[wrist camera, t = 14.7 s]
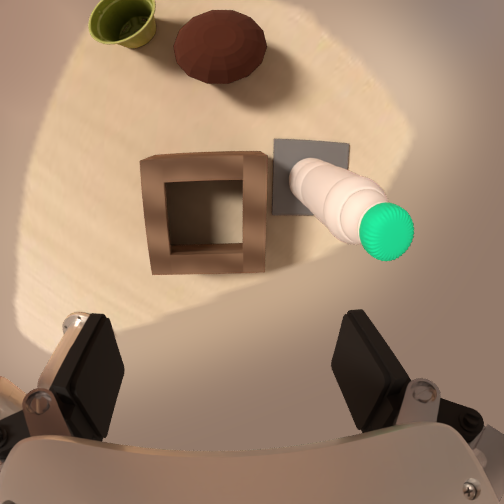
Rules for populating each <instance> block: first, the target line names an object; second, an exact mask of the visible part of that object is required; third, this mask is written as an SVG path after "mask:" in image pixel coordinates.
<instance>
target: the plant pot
mask: <svg viewBox="0 0 504 504" xmlns="http://www.w3.org/2000/svg"><path fill="white" fill-rule="evenodd" d="M155 7H156V4H155V0H101V1H100V2H99V3H98V4H97V5H96V7H95V8H94V10H93V11H92V13H91V15H90V19H89V24H88V27H89V32H90V35H91V36H92V38H93V39H94V40H96V41H98V42H100V43H102V44H119V45H122V46H124V47H127V48H138V47H140V46H143V45H145V44H147V43H148V42H149V41H150V40H151V39H152V38H153V36H154V34H155V32H156V23H155V19H154V13H155ZM141 19H147V20H148V21H147V22H146V21H143V20H141ZM127 25H128V27H127V28H126V29H125V31H124V32H123V30H124V28H125V27H126V26H127ZM136 30H138V32H136V33H135V31H136Z"/></svg>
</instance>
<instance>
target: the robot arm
mask: <svg viewBox="0 0 504 504" xmlns="http://www.w3.org/2000/svg"><path fill="white" fill-rule="evenodd" d="M63 333H64V336H63V337H62V339H61V341H60V342H59V344H58V346H57V347H56V349H55V351H54V352H53V354H52V356H51V358H50V359H49V361H48V363H47V365H46V367H45V368H44V370H43V372H42V373H41V376H40V378H39V380H38V386H37V387H38V388H37V389H33V390H32V391H30V392H29V393H28V394H26V393H25V392H23V391H22V390H21V389H20V388H18V387H17V386H16V385H14V384H13V383H12V382H11V381H9V380H8V379H6V378H4V377H2V376H0V504H499V502H500V500H501V498H502V496H503V494H504V434H502V433H501V432H499V431H498V430H496V429H495V428H493V427H492V426H490V425H488V424H487V426H484V422H483V418H482V416H481V415H480V414H479V413H478V412H477V411H476V410H474V409H472V408H468V407H466V406H463V405H459V404H457V403H453V402H451V401H448V400H445V399H442V398H440V390H439V388H438V387H437V385H436V384H435V383H433V382H432V381H430V380H428V379H423V378H418V379H414V380H412V381H411V379H410V378H409V376H408V374H407V373H406V371H405V370H404V368H403V367H402V365H401V364H400V362H399V361H398V359H397V358H396V356H395V355H394V353H393V352H392V350H391V349H390V347H389V346H388V345H387V343H386V342H385V340H384V339H383V337H382V336H381V334H380V333H379V332H378V330H377V329H376V327H375V326H374V324H373V323H372V322H371V320H370V319H369V317H368V316H367V315H366V313H365V312H364V311H363V310H362V309H360V310H350V311H348V312H347V314H345V315H344V316H343V320H342V324H341V328H340V332H339V336H338V340H337V344H336V347H335V351H334V354H333V358H332V362H331V367H332V370H333V373H334V375H335V377H336V380H337V382H338V384H339V387H340V389H341V391H342V394H343V396H344V398H345V401H346V403H347V406H348V408H349V410H350V412H351V415H352V418H353V420H354V422H355V425H356V427H357V428H358V430H361V431H362V433H361V434H358V435H353V436H348V437H343V438H338V439H333V440H328V441H323V442H316V443H310V444H303V445H296V446H288V447H279V448H270V449H257V450H240V451H183V450H166V449H154V448H143V447H135V446H128V445H119V444H113V443H107V442H102V439H103V438H106V436H107V434H108V430H109V425H110V422H111V418H112V414H113V411H114V407H115V403H116V399H117V396H118V393H119V389H120V386H121V383H122V379H123V376H124V364H123V361H122V358H121V355H120V352H119V349H118V346H117V343H116V339H115V336H114V332H113V329H112V325H111V322H110V319H109V318H106V316H105V315H104V314H94V313H92V314H90V315H89V314H86V313H82V312H76V313H72V314H70V315H68V316H67V318H66V319H65V320H64V322H63Z"/></svg>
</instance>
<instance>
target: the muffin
mask: <svg viewBox="0 0 504 504" xmlns="http://www.w3.org/2000/svg"><path fill="white" fill-rule="evenodd" d="M173 47H174V52H175V57H176V62H177V64H178V65H179V66H180V67H181V68H182V69H183V70H184V71H185V73H186V74H187V75H188V76H190V77H192V78H195V79H197V80H200V81H202V82H205V83H207V84H229V83H231V82H234V81H237V80H239V79H242V78H245V77H247V76H249V75H250V74H251V73H252V72H253V71H254V70H255V69H256V68H257V67H258V66H259V65H260V64H261V63H262V61H263V58H264V55H265V52H266V49H267V44H266V40H265V36H264V32H263V30H262V29H261V28H260V27H259V26H258V24H257V23H256V22H255V21H254V20H253V19H252V18H251V17H248V16H246V15H244V14H241V13H239V12H236V11H233V10H211V11H209V12H206V13H203V14H200V15H198V16H195V17H193V18H192V19H191V20H190V21H189V22H188V23H187V24H185V25H184V26H183V27H182V28H181V29H180V30H179V33H178V35H177V38H176V41H175V44H174V46H173Z"/></svg>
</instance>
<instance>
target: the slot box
mask: <svg viewBox="0 0 504 504" xmlns="http://www.w3.org/2000/svg"><path fill="white" fill-rule="evenodd" d="M267 168H268V156H267V155H265V154H264V153H262V152H261V151H225V152H195V153H176V154H162V155H154V156H151V157H148V158H146V159H143V160H141V161H140V173H141V186H142V198H143V208H144V218H145V227H146V235H147V243H148V250H149V257H150V264H151V270H152V275H175V274H224V273H259V272H265V245H266V210H267ZM204 180H243V243H229V244H190V245H170V235H169V225H168V213H167V200H166V185H165V182H180V181H204Z"/></svg>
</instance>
